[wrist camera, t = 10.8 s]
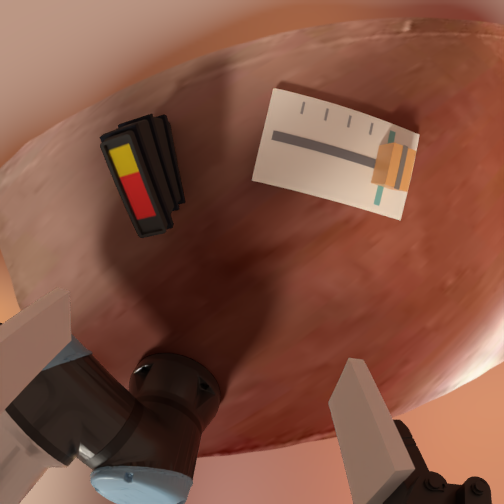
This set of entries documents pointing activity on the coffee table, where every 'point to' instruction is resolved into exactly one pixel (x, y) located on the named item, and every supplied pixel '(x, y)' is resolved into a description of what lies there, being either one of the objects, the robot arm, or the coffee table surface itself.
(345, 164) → the fader console
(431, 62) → the coffee table surface
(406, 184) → the fader tab
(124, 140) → the magazine
